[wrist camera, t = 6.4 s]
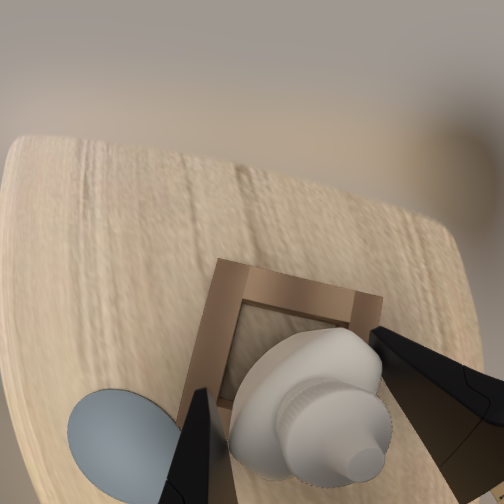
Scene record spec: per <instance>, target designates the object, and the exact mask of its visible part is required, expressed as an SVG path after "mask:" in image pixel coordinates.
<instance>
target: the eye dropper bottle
mask: <svg viewBox="0 0 504 504" xmlns="http://www.w3.org/2000/svg"><path fill="white" fill-rule="evenodd" d="M381 374H382V361H381V359H380V358H379V356H378V354H377V353H376V352H375V351H374V350H373V349H372V348H371V347H370V346H369V345H368V344H366V343H365V342H364V341H363V340H362V339H361V338H360V337H358V336H357V335H356V334H355V333H353V332H352V331H350V330H347V329H345V328H329V329H321V330H314V331H307V332H300V333H297V334H294V335H292V336H290V337H288V338H286V339H284V340H283V341H281V342H280V343H278V344H276V345H275V346H274V347H272V348H271V349H270V350H268V351H267V352H266V353H265V354H264V355H263V356H262V357H261V358H260V359H259V360H258V361H257V362H256V363H255V364H254V365H253V367H252V368H251V369H250V370H249V372H248V373H247V375H246V376H245V378H244V379H243V381H242V383H241V385H240V387H239V389H238V391H237V394H236V396H235V400H234V404H233V409H232V415H231V422H230V429H229V439H228V440H229V450H230V452H231V453H232V455H233V456H234V458H235V459H237V460H238V461H239V462H240V463H241V464H242V465H244V466H245V467H246V468H248V469H249V470H250V471H252V472H253V473H255V474H256V475H258V476H260V477H261V478H263V479H266V480H269V481H281V480H285V479H288V478H291V477H294V476H297V479H301V481H302V482H305V483H306V484H310V485H311V486H316V487H321V488H335V487H341V486H346V485H349V484H351V483H354V482H366V481H369V480H371V479H373V478H374V477H376V476H377V475H378V474H379V473H380V471H381V470H382V468H383V466H384V463H385V456H384V455H385V453H386V452H387V449H388V447H389V444H390V442H391V441H390V440H391V437H392V436H391V434H392V431H391V430H392V426H391V424H392V421H390V420H391V416H389V412H388V411H387V407H385V404H384V403H382V401H381V400H380V399H378V397H377V396H376V394H377V391H378V387H379V384H380V380H381Z"/></svg>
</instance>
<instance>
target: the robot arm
mask: <svg viewBox="0 0 504 504" xmlns="http://www.w3.org/2000/svg"><path fill="white" fill-rule="evenodd" d="M368 345H369V346H370V347H371V348H372V349H373V350H374V351H375V352H376V353H377V354H378V356H379V358H380V359H381V361H382V374H381V375H382V377H383V379H384V381H385V383H386V385H387V387H388V388H389V390H390V392H391V393H392V395H393V396H394V398H395V399H396V401H397V402H398V404H399V406H400V407H401V409H402V410H403V412H404V413H405V415H406V417H407V418H408V420H409V421H410V423H411V424H412V426H413V428H414V429H415V431H416V432H417V434H418V436H419V437H420V439H421V440H422V442H423V444H424V445H425V447H426V448H427V450H428V452H429V453H430V455H431V457H432V458H433V460H434V462H435V463H436V465H437V467H438V468H439V470H440V472H441V474H442V475H443V477H444V479H445V480H446V482H447V484H448V485H449V487H450V489H451V490H452V492H453V494H454V496H455V497H456V499H457V501H458V503H459V504H468V503H469V502H471V501H473V500H475V499H476V498H478V497H480V496H481V495H483V494H485V493H486V492H488V491H491V493H492V495H493V496H494V498H495V499H496V501H497V504H504V381H502V380H499V379H496V378H494V377H491V376H488V375H485V374H483V373H480V372H478V371H476V370H473V369H471V368H469V367H467V366H465V365H462V364H460V363H458V362H456V361H454V360H452V359H450V358H448V357H445V356H443V355H441V354H439V353H437V352H435V351H433V350H431V349H429V348H427V347H424V346H422V345H420V344H418V343H416V342H414V341H412V340H410V339H408V338H406V337H403V336H401V335H399V334H397V333H395V332H393V331H391V330H389V329H387V328H385V327H382V326H378V327H376V328H373V329H371V330H370V332H369V342H368ZM158 504H238V502H237V496H236V491H235V485H234V480H233V474H232V468H231V462H230V456H229V450H228V445H227V441H226V437H225V434H224V430H223V427H222V423H221V420H220V416H219V413H218V409H217V406H216V403H215V400H214V398H213V396H212V395H211V393H210V391H209V389H208V388H207V387H202V388H198V389H195V390H194V393H193V396H192V399H191V402H190V405H189V408H188V411H187V414H186V417H185V421H184V424H183V427H182V430H181V433H180V436H179V439H178V443H177V446H176V449H175V452H174V455H173V458H172V462H171V465H170V468H169V471H168V474H167V480H166V481H165V484H164V487H163V490H162V493H161V496H160V499H159V502H158Z"/></svg>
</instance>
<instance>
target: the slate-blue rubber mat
mask: <svg viewBox="0 0 504 504" xmlns="http://www.w3.org/2000/svg"><path fill="white" fill-rule="evenodd" d="M175 424H176V423H175V422H174V420H173V419H172V418H171V417H170V416H169V415H168V414H167V413H166V412H165V411H164V410H163V409H161V408H160V407H159V406H158V405H156V404H155V403H153V402H152V401H150V400H148V399H146V398H145V397H142V396H140V395H138V394H135V393H132V392H129V391H124V390H116V389H109V390H102V391H97V392H94V393H92V394H89V395H88V396H86V397H84V398H83V399H82V400H81V401H80V402H78V404H77V405H76V406H75V407H74V409H73V411H72V413H71V415H70V418H69V422H68V431H67V434H68V442H69V447H70V450H71V453H72V456H73V458H74V460H75V462H76V464H77V465H78V467H79V469H80V470H81V471H82V473H83V474H84V475H85V476H86V478H87V479H88V480H89V481H90V482H91V483H92V484H93V485H95V486H96V487H97V488H98V489H100V490H101V491H102V492H104V493H106V494H107V495H109V496H111V497H113V498H115V499H117V500H120V501H122V502H126V503H130V504H158V502H159V499H160V496H161V493H162V490H163V487H164V484H165V481H166V480H167V474H168V471H169V468H170V465H171V462H172V458H173V455H174V452H175V449H176V446H177V443H178V439H179V436H180V433H181V430H180V428H179V427H177V426H175Z"/></svg>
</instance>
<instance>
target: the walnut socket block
mask: <svg viewBox="0 0 504 504" xmlns="http://www.w3.org/2000/svg"><path fill="white" fill-rule="evenodd" d="M382 302H383V297H380V296H376V295H372V294H367V293H363V292H359V291H354V290H350V289H346V288H341V287H337V286H333V285H328V284H324V283H320V282H316V281H311V280H307V279H303V278H299V277H295V276H290V275H286V274H282V273H278V272H274V271H270V270H265V269H261V268H257V267H253V266H249V265H245V264H241V263H237V262H233V261H229V260H224V259H220V258H218V260H217V264H216V268H215V271H214V275H213V279H212V282H211V286H210V289H209V293H208V297H207V301H206V304H205V308H204V312H203V316H202V319H201V323H200V327H199V331H198V335H197V339H196V342H195V346H194V350H193V354H192V358H191V362H190V366H189V370H188V374H187V378H186V382H185V386H184V390H183V395H182V399H181V403H180V407H179V411H178V416H177V420H176V424H175V426H177V427H180V428H182V427H183V424H184V421H185V417H186V414H187V411H188V408H189V405H190V402H191V399H192V396H193V393H194V390H195V389H198V388H202V387H207V388H208V389H209V391H210V393H211V395H212V396H213V398H214V400H215V403H216V406H217V409H218V413H219V416H220V420H221V423H222V427H223V430H224V434H225V437H226V440H228V439H229V429H230V422H231V415H232V409H233V404H234V401H230V400H226V399H222V398H219V394H220V390H221V386H222V382H223V378H224V374H225V370H226V366H227V362H228V358H229V355H230V351H231V347H232V343H233V339H234V335H235V331H236V327H237V323H238V319H239V315H240V311H241V307H242V303H244V304H248V305H252V306H256V307H260V308H264V309H268V310H273V311H277V312H281V313H286V314H290V315H294V316H299V317H303V318H308V319H313V320H317V321H322V322H327V323H332V324H336V325H337V327H336V328H345V329H347V330H350V331H352V332H353V333H355V334H356V335H357V336H358V337H360V338H361V339H362V340H363V341H364V342H365V343H366V344H368V342H369V332H370V330H371V329H373V328H376V327H378V326H379V321H380V315H381V309H382ZM228 441H229V440H228Z"/></svg>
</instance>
